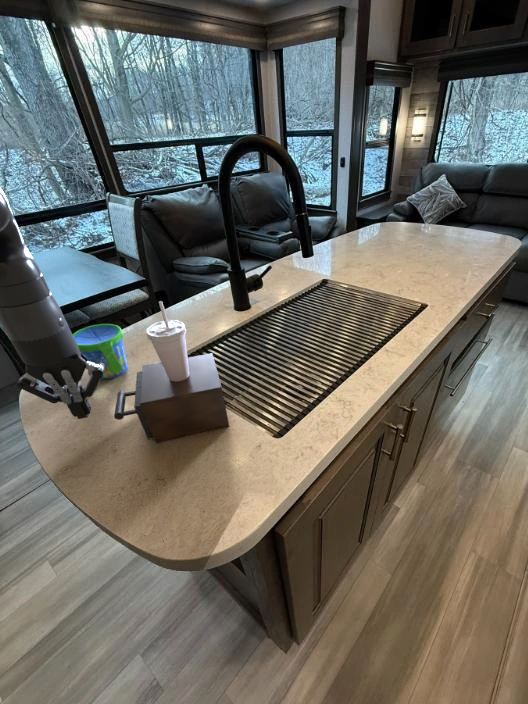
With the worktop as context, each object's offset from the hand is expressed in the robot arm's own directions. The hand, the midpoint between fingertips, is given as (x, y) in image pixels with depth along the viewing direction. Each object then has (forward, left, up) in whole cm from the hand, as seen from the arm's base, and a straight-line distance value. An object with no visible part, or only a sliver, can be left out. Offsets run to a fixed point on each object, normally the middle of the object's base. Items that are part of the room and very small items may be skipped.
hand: (84, 415), depth 60 cm
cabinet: (+18, 0, -5) cm, 19 cm away
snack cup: (+1, +23, -5) cm, 24 cm away
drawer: (+14, 0, -4) cm, 15 cm away
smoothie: (+18, 0, +4) cm, 18 cm away
